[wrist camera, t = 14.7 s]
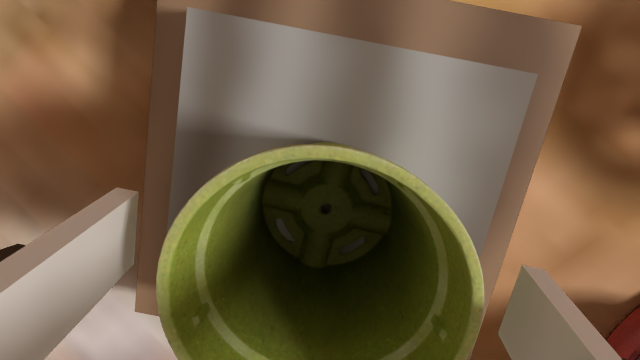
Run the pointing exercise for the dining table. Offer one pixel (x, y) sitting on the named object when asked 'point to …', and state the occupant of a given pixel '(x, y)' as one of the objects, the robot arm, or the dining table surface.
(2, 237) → the dining table surface
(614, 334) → the stacking bear
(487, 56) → the stepped square platform
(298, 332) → the plant pot
